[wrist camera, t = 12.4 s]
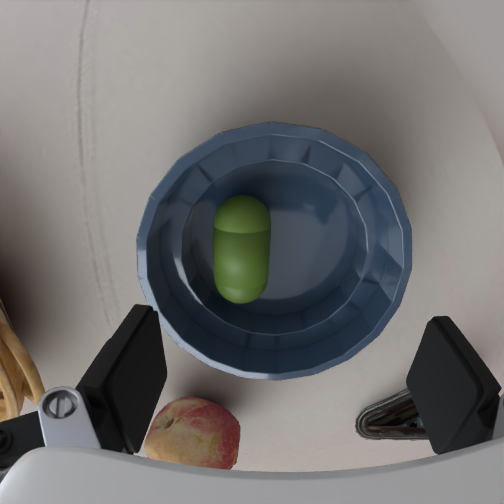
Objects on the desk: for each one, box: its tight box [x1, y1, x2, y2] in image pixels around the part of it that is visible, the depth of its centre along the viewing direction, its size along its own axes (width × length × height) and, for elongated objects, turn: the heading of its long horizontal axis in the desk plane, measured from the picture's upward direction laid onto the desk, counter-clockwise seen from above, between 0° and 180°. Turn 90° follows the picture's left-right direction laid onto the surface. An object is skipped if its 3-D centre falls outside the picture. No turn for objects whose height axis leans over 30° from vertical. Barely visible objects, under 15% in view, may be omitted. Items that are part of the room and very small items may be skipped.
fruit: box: [144, 397, 240, 470], centre depth 22 cm, size 8×8×8 cm
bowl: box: [136, 122, 412, 380], centre depth 18 cm, size 14×14×5 cm
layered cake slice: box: [355, 389, 429, 441], centre depth 24 cm, size 10×7×12 cm
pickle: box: [213, 195, 271, 304], centre depth 18 cm, size 6×3×3 cm
